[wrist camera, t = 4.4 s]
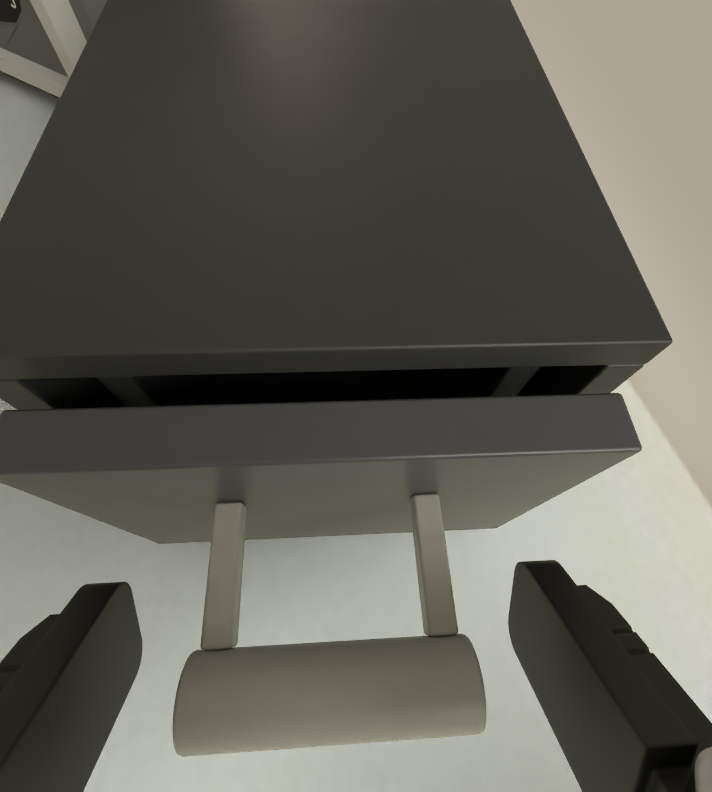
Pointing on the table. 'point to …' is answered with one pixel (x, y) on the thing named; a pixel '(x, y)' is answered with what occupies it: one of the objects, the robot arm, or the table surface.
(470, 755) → the table surface
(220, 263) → the grey drawer cabinet
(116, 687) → the robot arm
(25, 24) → the alarm clock
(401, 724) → the open grey drawer
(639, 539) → the table surface
